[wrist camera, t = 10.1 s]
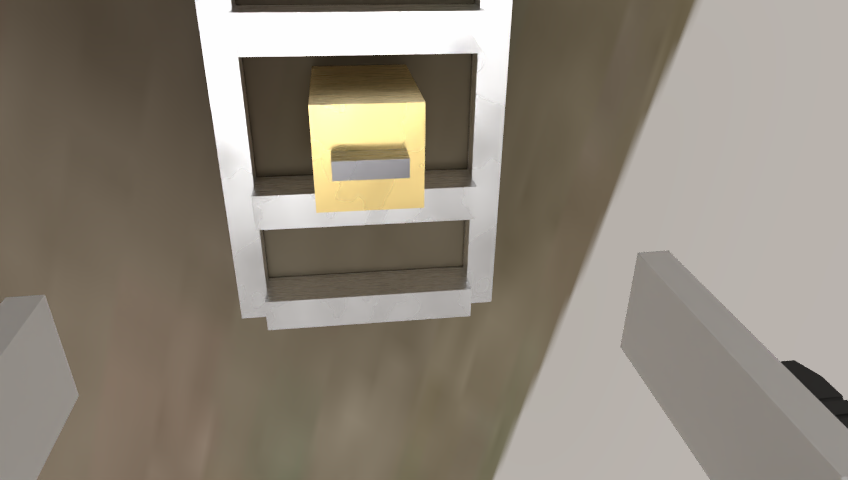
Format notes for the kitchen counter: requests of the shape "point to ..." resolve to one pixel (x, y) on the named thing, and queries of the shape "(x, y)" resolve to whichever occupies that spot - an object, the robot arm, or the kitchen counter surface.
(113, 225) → the kitchen counter surface
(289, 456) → the kitchen counter surface
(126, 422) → the kitchen counter surface
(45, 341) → the robot arm
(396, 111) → the tan rectangular block
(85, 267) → the kitchen counter surface
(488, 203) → the white slotted rack
